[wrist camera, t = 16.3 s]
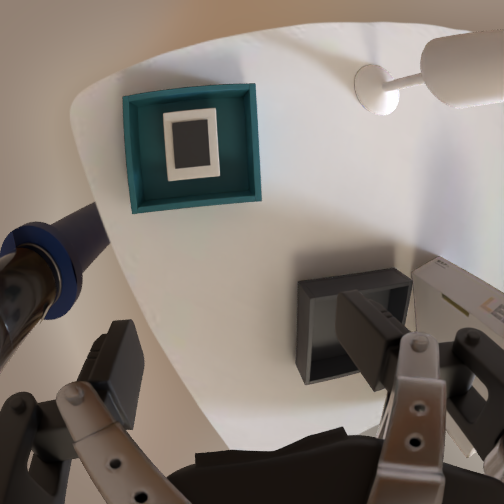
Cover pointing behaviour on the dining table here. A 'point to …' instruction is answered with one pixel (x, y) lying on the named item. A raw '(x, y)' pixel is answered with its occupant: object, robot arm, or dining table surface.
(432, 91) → the champagne flute
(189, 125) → the white box with panel
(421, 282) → the packaging
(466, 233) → the dining table surface
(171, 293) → the dining table surface
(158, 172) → the near tote
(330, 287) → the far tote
